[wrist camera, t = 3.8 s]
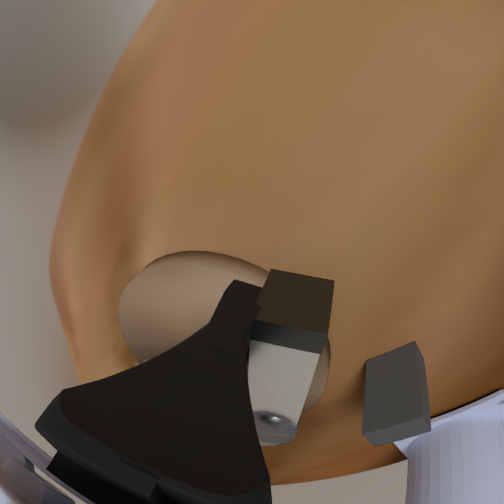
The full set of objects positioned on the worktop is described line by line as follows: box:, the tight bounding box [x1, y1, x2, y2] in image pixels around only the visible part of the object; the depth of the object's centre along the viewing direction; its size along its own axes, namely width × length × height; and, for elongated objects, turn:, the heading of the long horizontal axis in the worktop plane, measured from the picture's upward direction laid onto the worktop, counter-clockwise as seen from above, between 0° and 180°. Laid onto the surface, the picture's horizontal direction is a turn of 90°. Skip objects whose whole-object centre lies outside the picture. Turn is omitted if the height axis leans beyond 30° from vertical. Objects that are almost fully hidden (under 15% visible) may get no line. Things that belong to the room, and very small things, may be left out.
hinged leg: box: [248, 269, 334, 444], centre depth 10 cm, size 7×2×3 cm, turn 177°
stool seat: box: [118, 251, 331, 446], centre depth 14 cm, size 11×11×3 cm
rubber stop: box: [362, 341, 431, 447], centre depth 11 cm, size 1×2×4 cm, turn 129°
